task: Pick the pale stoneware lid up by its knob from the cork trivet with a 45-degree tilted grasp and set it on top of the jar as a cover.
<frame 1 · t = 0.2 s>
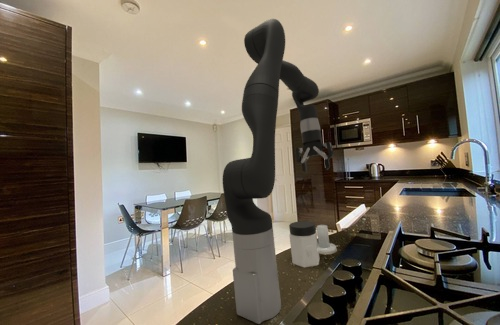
hand: (316, 170, 83), 28 cm above the countertop, tool pointing down, fingers open, 8 cm apart
lid: (324, 249, 73), resting on trivet
jar: (306, 263, 66), on the countertop
trivet: (324, 251, 73), on the countertop
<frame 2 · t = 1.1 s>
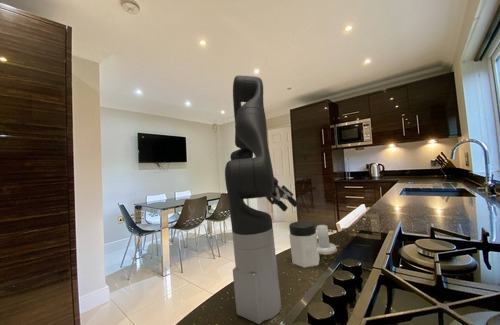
hand: (291, 207, 81), 15 cm above the countertop, tool tilted 45°, fingers open, 8 cm apart
nothing on the countertop moved.
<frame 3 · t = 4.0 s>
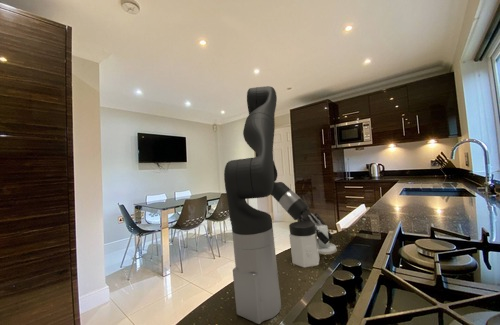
hand: (329, 240, 72), 4 cm above the countertop, tool tilted 45°, fingers closed on lid, 3 cm apart
lid: (324, 249, 73), resting on trivet, touching gripper
everything else where it was.
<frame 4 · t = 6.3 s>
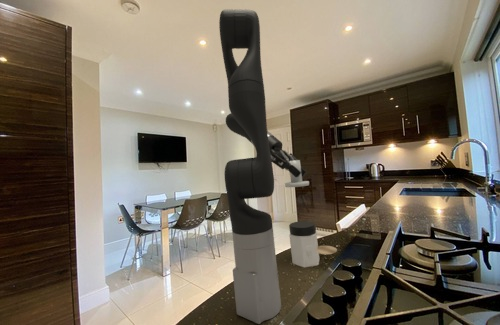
hand: (301, 174, 66), 28 cm above the countertop, tool tilted 45°, fingers closed on lid, 3 cm apart
lid: (297, 185, 67), point 24 cm above the countertop, touching gripper
everything else where it was.
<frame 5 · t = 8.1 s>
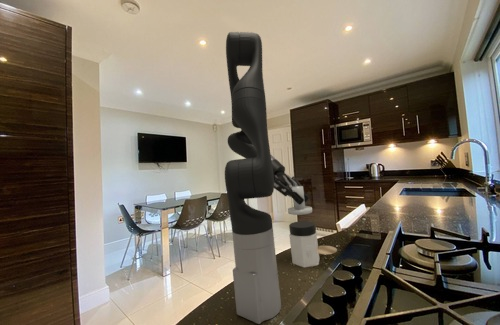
hand: (304, 201, 66), 19 cm above the countertop, tool tilted 45°, fingers closed on lid, 3 cm apart
lid: (300, 212, 67), point 16 cm above the countertop, touching gripper
everything else where it was.
when the fingers open (17 cm above the countertop, at t = 9.1 s): lid drops 2 cm, resting on jar.
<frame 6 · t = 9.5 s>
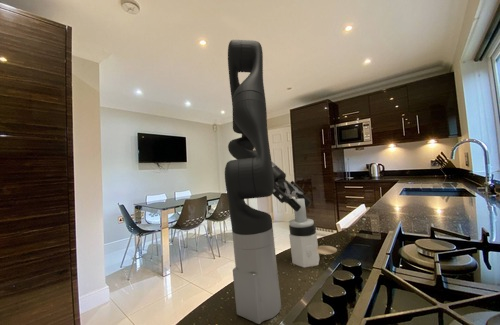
hand: (304, 207, 66), 17 cm above the countertop, tool tilted 45°, fingers open, 7 cm apart
lid: (301, 224, 66), point 12 cm above the countertop, touching jar
jar: (306, 263, 66), on the countertop, touching lid
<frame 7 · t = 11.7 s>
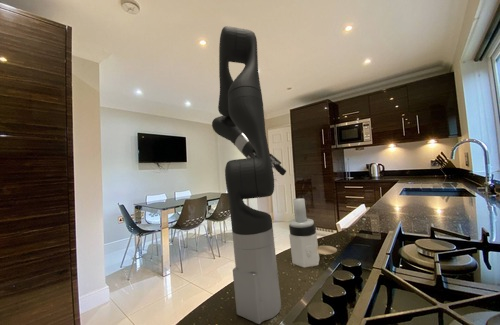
hand: (278, 174, 71), 29 cm above the countertop, tool tilted 45°, fingers open, 8 cm apart
nothing on the countertop moved.
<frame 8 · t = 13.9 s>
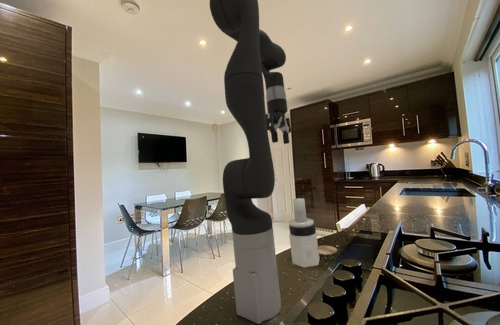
hand: (281, 142, 78), 40 cm above the countertop, tool pointing down, fingers open, 8 cm apart
nothing on the countertop moved.
at the end: lid inside the target area on the jar (0.1 cm from its centre), point 12.0 cm above the jar's base; lid tilted 0°; the gripper is holding nothing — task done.
